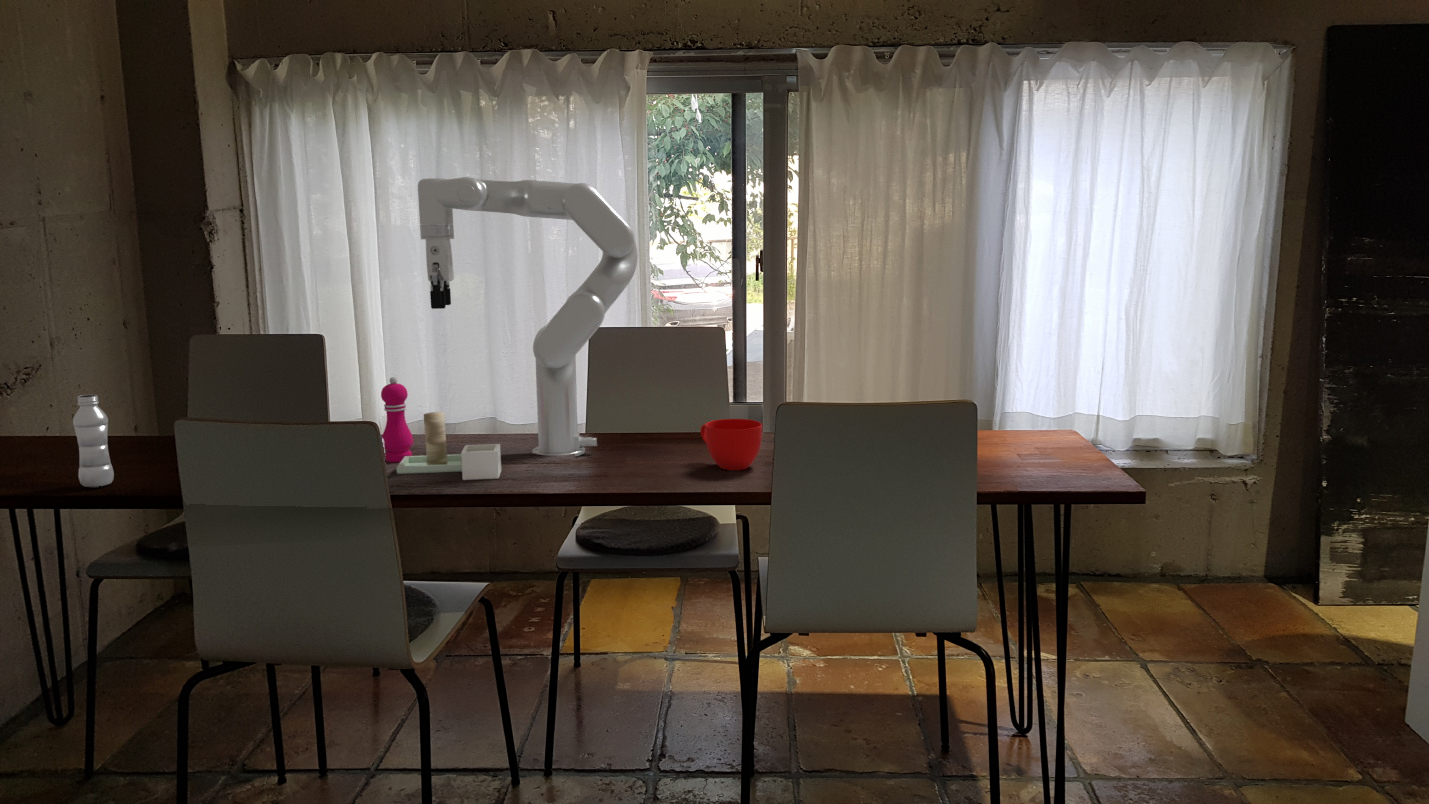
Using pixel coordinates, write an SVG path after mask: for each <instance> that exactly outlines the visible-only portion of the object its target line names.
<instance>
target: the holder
mask: <svg viewBox="0 0 1429 804" xmlns="http://www.w3.org/2000/svg"><path fill="white" fill-rule="evenodd" d="M460 454H461V458H462V472H461V473H462V474H461V475H462V481H466V480H467V481H468V480H469V481H470V480H472V481H473V480H495V479H500V475H501V473H502V458H501V457H502V455H501V454H502V453H501V443H490V444H488V443H486V444H466V445H464V447H463V448H462V451H461V453H460Z"/></svg>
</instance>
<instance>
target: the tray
mask: <svg viewBox="0 0 1429 804" xmlns="http://www.w3.org/2000/svg"><path fill="white" fill-rule="evenodd" d="M447 463H448V464H444V465H427V456H426V455H412V456H405V457H404V458H403V460H402V461H401V462H398V464H397V466H396V475H409V474H410V475H411V474H412V475H413V474H433V473H434V474H437V473H458V472H460V473H462V458H461V453H457V454H455V453H454V454H447Z"/></svg>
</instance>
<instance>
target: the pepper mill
mask: <svg viewBox="0 0 1429 804" xmlns="http://www.w3.org/2000/svg"><path fill="white" fill-rule="evenodd" d="M397 382H398V378H396V377H395V376H391V377H390V378H389V383H387V384H386V385H384V386H383V387H382V389H381V390H380V391H381V393H380V397H381V400H382V401H383V402H384V403H385V404H384V405H383V406H384V408H383V410H384V411H385V412H386V423H385V428H384V430H383V433H382V436H381V437H382V438H383V439H384V446H385V447H384V449H385V456H386V461H385V462H388V463H400V462H401V461H402V460H403V458H404V457H405V456H413V452H412V450H410V449H411V448H412V446H413V444H414V438H413V435H412V432H411V430H410V428H409V426H408V424H407V421H406V416H405V411H406V410H407V407H406V405H407V403H405V402H406V400H407V399H408V395H409V394H408V390H407V388H406V387H405V385H403V384H401V383H397Z"/></svg>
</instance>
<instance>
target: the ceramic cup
mask: <svg viewBox="0 0 1429 804" xmlns="http://www.w3.org/2000/svg"><path fill="white" fill-rule="evenodd" d="M700 435H701V438H702V440H703V442H704V443H705V444H706V447H707V449H708V452H709V454H710V456H711V458H712V459H713V461H714V462H715V463H716V465H717V466H718V467H719V468H720V469H721V468H722V470H725V469H727V470H726V471H741V470H742V471H743V470H746V469H748V468H749V467H750V465H752V463H753V462H754V460H755V459H756V458H757V456H758V454H759V451H760V448H761V445H762V438H763V437H762V436H763V423H762V422H760V421H757V420H754V419H745V418H725V419H723V418H722V419H717V420H716V419H715V420H710V421H707V422H706V423H704V424H703V425H702V426H701V427H700Z"/></svg>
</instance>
